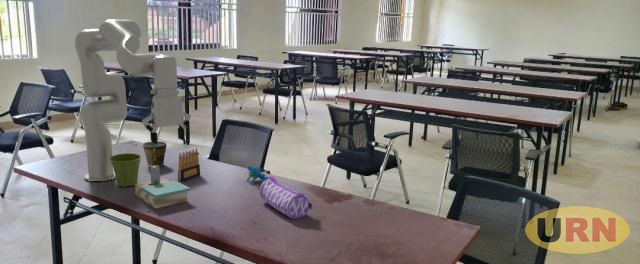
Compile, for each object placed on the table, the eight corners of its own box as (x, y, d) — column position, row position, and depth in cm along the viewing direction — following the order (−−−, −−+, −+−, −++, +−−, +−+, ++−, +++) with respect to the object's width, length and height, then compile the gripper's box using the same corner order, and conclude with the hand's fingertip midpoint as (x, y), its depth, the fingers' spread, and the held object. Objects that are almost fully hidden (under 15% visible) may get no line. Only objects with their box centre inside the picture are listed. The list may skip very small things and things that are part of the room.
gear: (273, 180, 211) (257, 165, 206) (265, 192, 209) (248, 178, 205) (260, 177, 220) (244, 162, 215) (252, 188, 218) (235, 174, 214)
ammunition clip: (181, 182, 212) (180, 153, 209) (177, 181, 213) (176, 152, 210) (200, 175, 221) (199, 148, 218) (197, 175, 222) (196, 147, 219)
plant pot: (104, 187, 203) (102, 159, 201) (123, 178, 214) (121, 152, 212) (132, 190, 200) (130, 162, 198) (149, 181, 212) (147, 154, 209)
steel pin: (150, 192, 197) (148, 166, 194) (158, 190, 199) (157, 164, 196) (153, 194, 194) (152, 168, 192) (162, 192, 196) (160, 166, 194)
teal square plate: (141, 190, 189) (141, 187, 189) (175, 183, 198) (175, 180, 197) (155, 198, 180) (155, 195, 180) (190, 190, 189) (190, 188, 188)
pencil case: (312, 217, 179) (313, 190, 177) (290, 223, 174) (290, 196, 172) (277, 198, 196) (277, 174, 194) (255, 203, 191) (255, 178, 189)
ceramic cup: (144, 163, 237) (142, 141, 234) (167, 161, 240) (166, 140, 237) (143, 171, 225) (142, 148, 222) (168, 170, 228) (167, 147, 225)
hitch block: (135, 194, 197) (134, 184, 196) (165, 188, 204) (165, 178, 203) (155, 208, 183) (154, 197, 182) (187, 201, 191) (186, 190, 190)
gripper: (145, 95, 170) (148, 147, 174) (194, 91, 181) (195, 140, 185) (136, 92, 176) (139, 142, 180) (184, 89, 187) (186, 136, 191)
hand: (168, 141), depth 182 cm, fingers open, 9 cm apart
